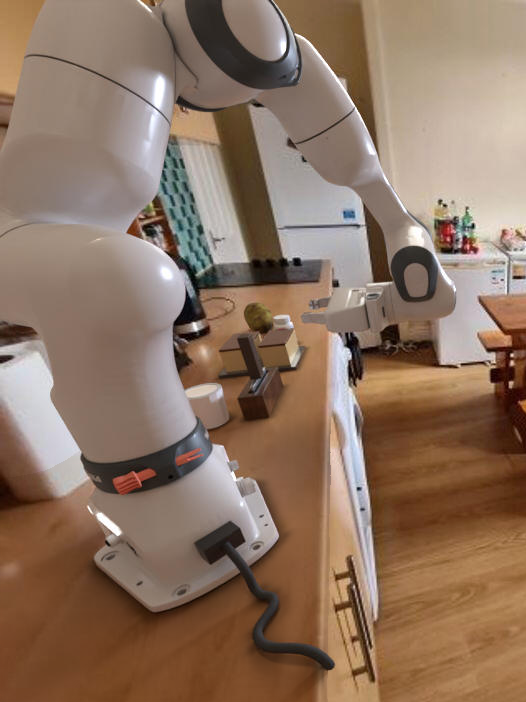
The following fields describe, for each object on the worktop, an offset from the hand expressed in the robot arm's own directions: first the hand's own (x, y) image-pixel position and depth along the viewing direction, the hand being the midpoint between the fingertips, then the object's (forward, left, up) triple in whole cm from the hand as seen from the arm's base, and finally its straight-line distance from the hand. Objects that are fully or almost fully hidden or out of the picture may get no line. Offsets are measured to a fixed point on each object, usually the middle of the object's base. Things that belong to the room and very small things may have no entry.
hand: (305, 311), depth 83 cm
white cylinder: (+7, +20, -19) cm, 28 cm away
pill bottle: (+37, -9, -19) cm, 42 cm away
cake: (+29, 0, -19) cm, 35 cm away
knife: (+7, +10, -19) cm, 22 cm away
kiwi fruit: (+57, -10, -19) cm, 61 cm away
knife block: (+7, +10, -19) cm, 22 cm away
